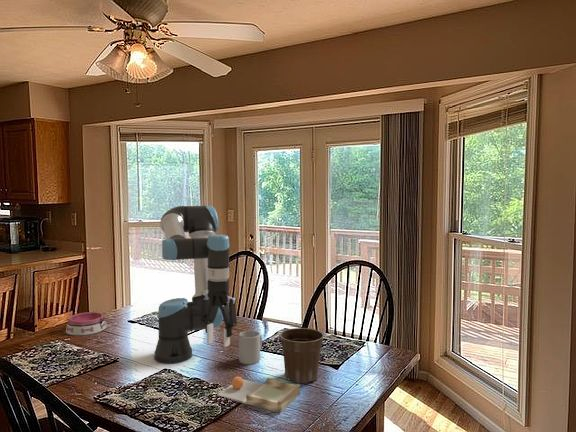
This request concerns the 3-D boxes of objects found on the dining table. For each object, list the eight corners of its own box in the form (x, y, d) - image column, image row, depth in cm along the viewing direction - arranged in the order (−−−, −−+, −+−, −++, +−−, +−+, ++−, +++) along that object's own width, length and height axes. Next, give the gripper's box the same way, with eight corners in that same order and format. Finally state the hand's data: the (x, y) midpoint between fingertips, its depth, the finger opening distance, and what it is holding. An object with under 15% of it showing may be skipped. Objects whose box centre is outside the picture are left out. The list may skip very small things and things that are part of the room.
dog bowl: (97, 336, 208) (96, 322, 208) (57, 336, 208) (57, 321, 208) (113, 324, 227) (112, 311, 226) (76, 324, 227) (76, 310, 226)
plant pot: (280, 367, 174) (280, 326, 173) (322, 368, 173) (322, 327, 172) (278, 386, 158) (278, 341, 157) (324, 387, 157) (324, 342, 156)
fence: (246, 403, 145) (246, 393, 144) (267, 386, 157) (267, 377, 157) (280, 413, 139) (280, 402, 139) (299, 394, 151) (299, 384, 151)
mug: (251, 366, 175) (251, 338, 174) (234, 361, 179) (234, 334, 179) (269, 356, 185) (269, 330, 184) (252, 352, 189) (252, 327, 189)
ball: (229, 389, 154) (229, 378, 153) (235, 384, 157) (235, 373, 157) (239, 391, 152) (239, 380, 151) (245, 387, 155) (245, 376, 155)
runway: (217, 396, 150) (217, 394, 150) (240, 380, 162) (240, 378, 162) (280, 413, 139) (280, 411, 139) (299, 394, 151) (299, 392, 151)
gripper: (189, 278, 157) (189, 342, 158) (235, 284, 148) (235, 352, 149) (202, 274, 163) (202, 336, 165) (247, 280, 155) (247, 345, 156)
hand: (218, 343), depth 157 cm, fingers open, 6 cm apart
